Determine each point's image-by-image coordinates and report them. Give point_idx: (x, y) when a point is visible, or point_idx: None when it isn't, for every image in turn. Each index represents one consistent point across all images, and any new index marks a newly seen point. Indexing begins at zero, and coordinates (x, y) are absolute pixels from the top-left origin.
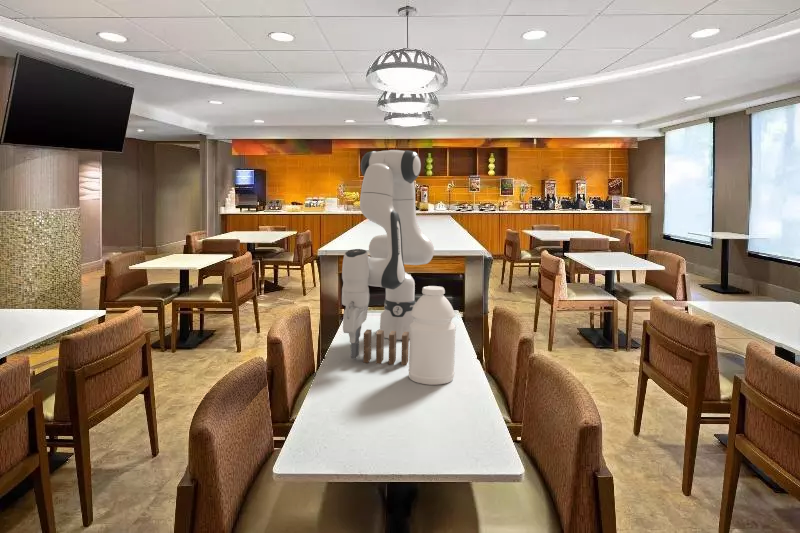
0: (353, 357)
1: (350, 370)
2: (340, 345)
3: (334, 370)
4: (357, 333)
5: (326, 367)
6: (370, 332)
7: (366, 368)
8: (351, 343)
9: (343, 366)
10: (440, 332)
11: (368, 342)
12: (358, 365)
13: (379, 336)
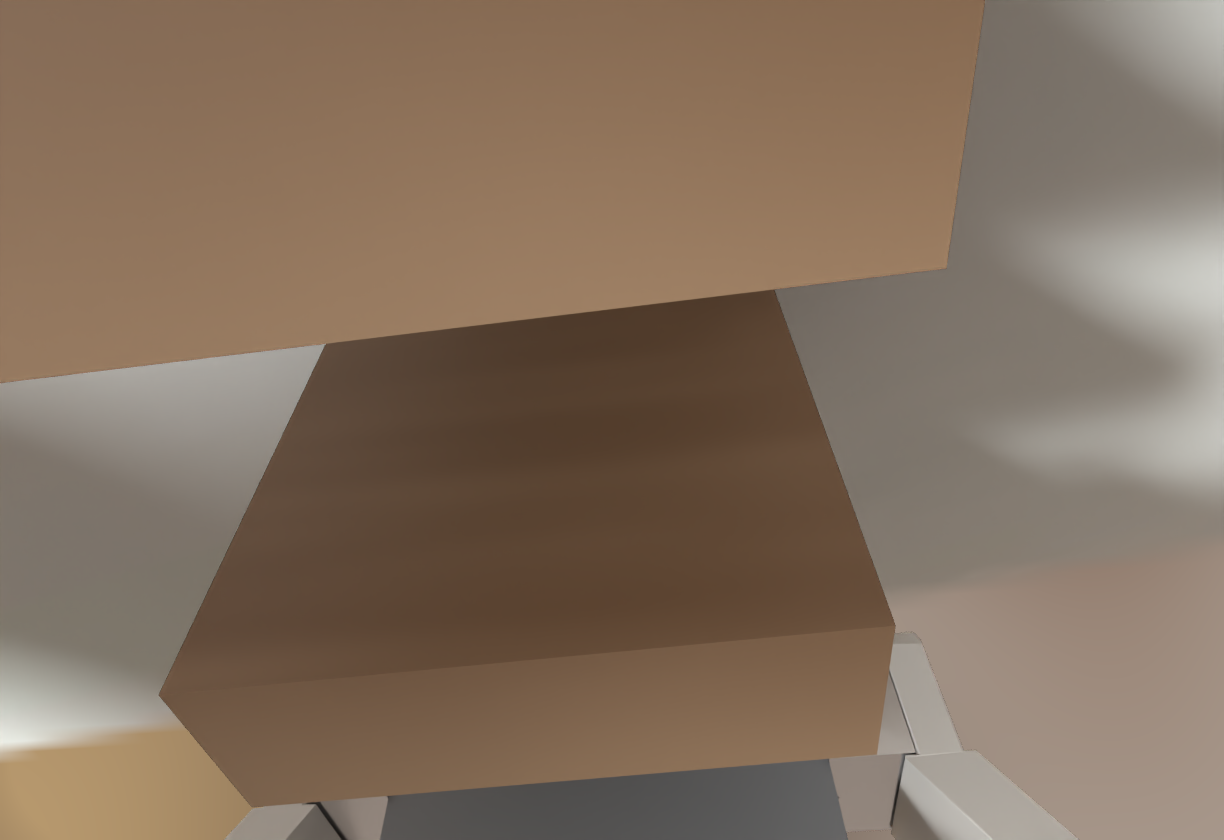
0: None
1: (1180, 272)
2: (94, 705)
3: (1160, 463)
4: (602, 823)
5: (1023, 571)
6: (417, 610)
7: (1071, 34)
8: None
9: (967, 423)
10: None
11: (786, 362)
12: None
13: None
